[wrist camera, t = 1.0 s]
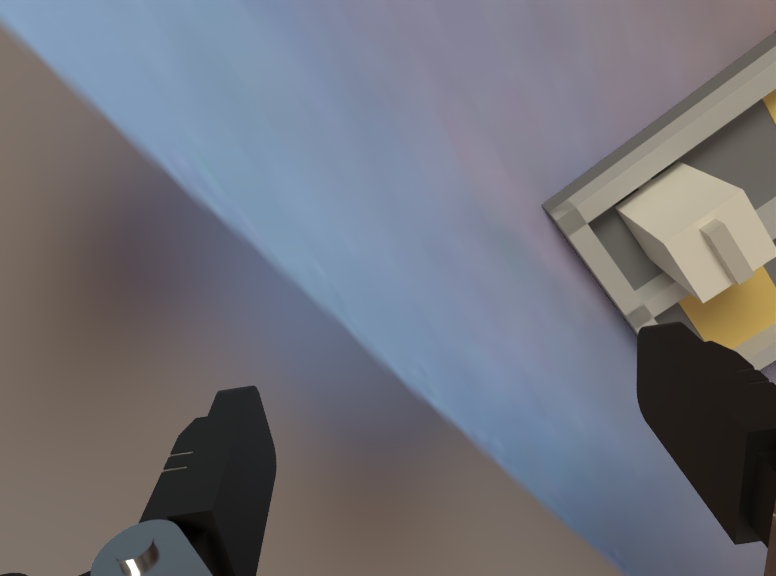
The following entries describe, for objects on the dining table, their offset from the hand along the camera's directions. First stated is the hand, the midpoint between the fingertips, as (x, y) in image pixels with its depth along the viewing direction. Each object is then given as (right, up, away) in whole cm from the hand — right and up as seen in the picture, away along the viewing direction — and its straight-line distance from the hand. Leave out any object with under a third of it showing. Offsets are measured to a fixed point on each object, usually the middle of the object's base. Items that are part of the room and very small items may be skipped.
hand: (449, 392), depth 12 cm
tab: (+14, +6, +21) cm, 26 cm away
